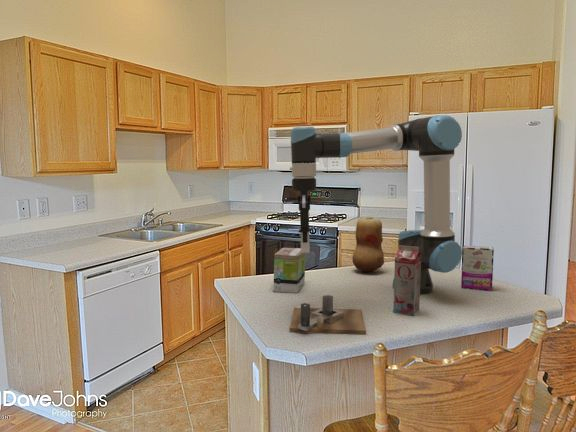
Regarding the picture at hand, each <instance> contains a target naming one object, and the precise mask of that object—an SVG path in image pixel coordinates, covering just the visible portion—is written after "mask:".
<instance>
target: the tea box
mask: <svg viewBox="0 0 576 432" xmlns="http://www.w3.org/2000/svg"><path fill="white" fill-rule="evenodd" d="M273 262H274V263H273V292H279V293H293V294H297V293H299V291H300V290H301V289H302V287H303V285H304V284H305V282H306V281H305V277H306V253H301V247H299V248H298V247H282V248H280V249H279V250H278V251H277V252H275V253H274V254H273Z"/></svg>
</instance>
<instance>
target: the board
mask: <svg viewBox="0 0 576 432" xmlns="http://www.w3.org/2000/svg"><path fill="white" fill-rule="evenodd" d="M321 299H322V300H321V301H322V306H321V307H319V308H317V307H316V308H315V307H310V320H311V319H312V318H311V313H312V312H314V311H317V310H319V309H321V308H322V314H325V315H328V316H330V315H332V314H333V309H335V310H339V311H343V312H344V318H342V319H340V320H338V321H335V322H333V323H331V324H329V323H325V322H324V317H322V316H319V317H317V326H316V327H313V328H311V329H309V330H307V331H304V330H301V329H298V325H299V324H301V307H293V312H292V316H291V321H290V323H289V331H288V332H289V333H306V334H307V333H309V334H339V335H340V334H341V335H367V329H366V325H365V323H366V322H365V320H364V316H363V311H362V309H360V308H359V309H358V308H357V309H356V308H355V309H354V308H353V309H352V308H350V309H349V308H334V296H333V295H330V294H328V295H327V294H326V295H322V298H321ZM323 322H324V323H323Z"/></svg>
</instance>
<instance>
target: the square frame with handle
mask: <svg viewBox="0 0 576 432" xmlns="http://www.w3.org/2000/svg"><path fill="white" fill-rule="evenodd" d="M300 308H301V324H299V325H298V329H301V330H304V331H307V330H309V329H311V328H313V327H316V326H317V317H319V316H322V317H324V322H325V323H329V324H331V323H333V322H335V321H338V320H340V319H342V318H344V312H343V311H339V310H335V309H336V308H333V314H332V315H330V316H328V315H325V314H322V307H320V308H321V309H319V310H317V311H314V312H312V313H311V318H312V319H311V320H310V308H311V304H310V303H307V302H304V303H301V304H300ZM324 322H323V323H324Z"/></svg>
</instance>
